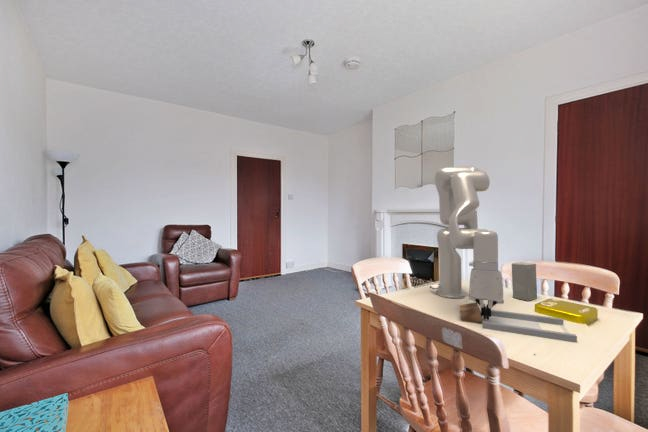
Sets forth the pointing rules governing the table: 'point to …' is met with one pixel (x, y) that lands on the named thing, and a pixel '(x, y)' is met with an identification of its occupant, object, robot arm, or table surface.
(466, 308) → the walnut block
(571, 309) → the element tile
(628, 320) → the table surface
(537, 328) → the grey rail tray
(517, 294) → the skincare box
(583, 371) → the table surface
